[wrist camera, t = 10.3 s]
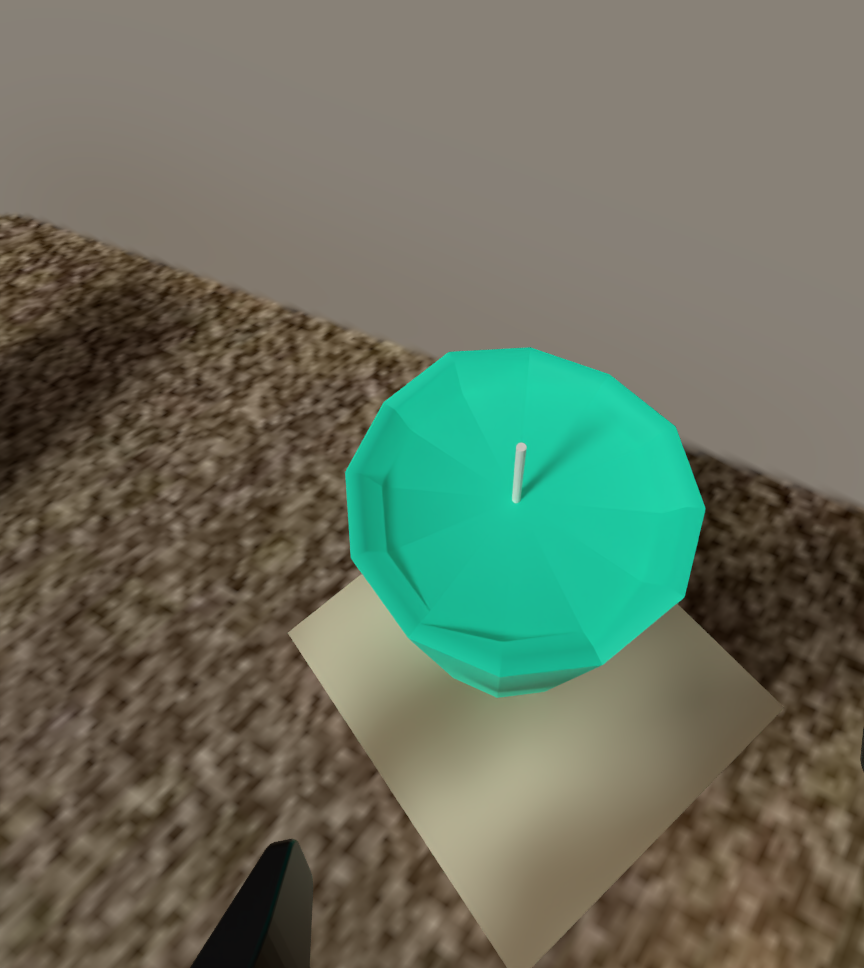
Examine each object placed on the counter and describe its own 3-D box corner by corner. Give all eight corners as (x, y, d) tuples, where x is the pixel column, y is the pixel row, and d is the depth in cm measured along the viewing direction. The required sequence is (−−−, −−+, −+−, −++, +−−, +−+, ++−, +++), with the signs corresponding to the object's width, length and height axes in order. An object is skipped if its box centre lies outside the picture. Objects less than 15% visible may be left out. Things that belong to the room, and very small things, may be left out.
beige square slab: (755, 708, 18) (784, 707, 16) (514, 952, 16) (516, 983, 14) (516, 470, 23) (518, 449, 21) (306, 640, 21) (287, 633, 19)
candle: (396, 561, 19) (270, 366, 9) (545, 500, 20) (607, 235, 9) (459, 729, 17) (395, 754, 6) (628, 655, 17) (855, 554, 6)
